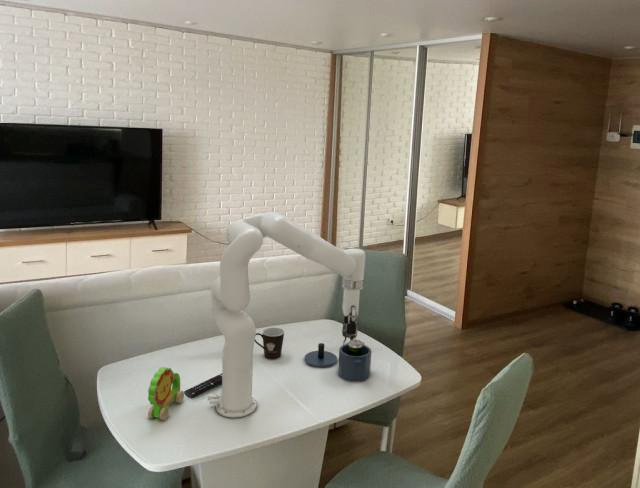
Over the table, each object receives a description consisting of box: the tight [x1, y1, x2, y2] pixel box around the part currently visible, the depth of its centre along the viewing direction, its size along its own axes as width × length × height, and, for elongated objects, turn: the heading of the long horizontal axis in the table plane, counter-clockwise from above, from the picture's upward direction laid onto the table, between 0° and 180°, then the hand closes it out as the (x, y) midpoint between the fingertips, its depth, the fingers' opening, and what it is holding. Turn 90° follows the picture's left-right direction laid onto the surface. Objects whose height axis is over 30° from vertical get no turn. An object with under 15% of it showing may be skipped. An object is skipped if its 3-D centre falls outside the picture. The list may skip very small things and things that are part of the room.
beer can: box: [348, 339, 363, 356], centre depth 195 cm, size 5×5×12 cm
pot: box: [337, 343, 372, 383], centre depth 195 cm, size 12×17×10 cm
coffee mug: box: [254, 327, 285, 361], centre depth 207 cm, size 12×9×10 cm
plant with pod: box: [341, 321, 365, 346], centre depth 217 cm, size 8×11×20 cm
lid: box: [303, 342, 338, 368], centre depth 205 cm, size 13×13×7 cm
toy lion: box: [147, 366, 185, 421], centre depth 164 cm, size 16×6×15 cm, turn 170°
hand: (349, 328), depth 190 cm, fingers open, 9 cm apart
